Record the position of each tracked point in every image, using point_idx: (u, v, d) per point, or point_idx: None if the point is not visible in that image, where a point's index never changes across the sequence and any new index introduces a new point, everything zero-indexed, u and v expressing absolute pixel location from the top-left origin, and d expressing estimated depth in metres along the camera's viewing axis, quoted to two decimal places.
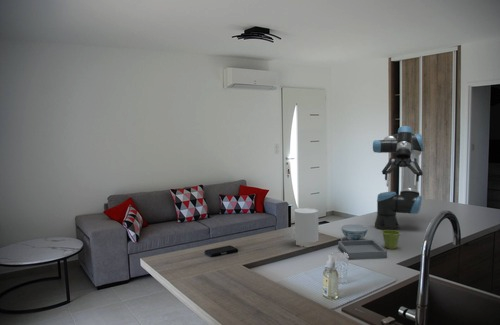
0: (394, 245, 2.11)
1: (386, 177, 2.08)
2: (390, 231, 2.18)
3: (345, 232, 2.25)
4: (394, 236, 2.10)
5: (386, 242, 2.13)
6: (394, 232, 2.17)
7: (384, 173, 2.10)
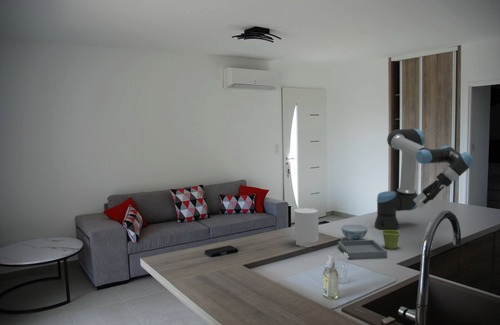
0: (394, 245, 2.11)
1: None
2: (390, 231, 2.18)
3: (345, 232, 2.25)
4: (394, 236, 2.10)
5: (386, 242, 2.13)
6: (394, 232, 2.17)
7: (429, 199, 1.99)
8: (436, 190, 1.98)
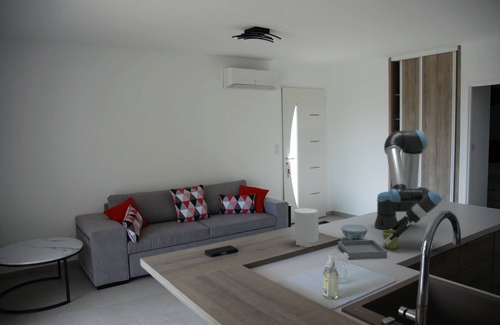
0: (393, 245, 2.11)
1: None
2: (390, 231, 2.18)
3: (345, 232, 2.25)
4: None
5: None
6: None
7: (396, 236, 2.07)
8: (403, 228, 2.05)
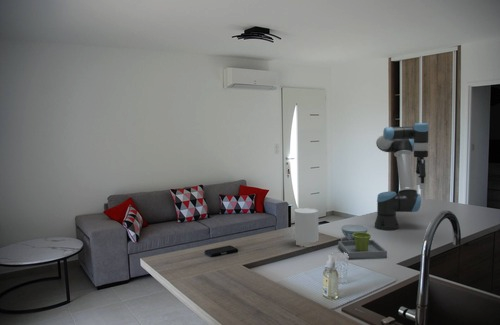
0: (364, 248, 2.05)
1: (423, 181, 2.14)
2: (361, 234, 2.11)
3: (345, 232, 2.25)
4: (364, 239, 2.03)
5: (356, 245, 2.06)
6: (365, 234, 2.10)
7: (423, 177, 2.13)
8: (421, 167, 2.14)
